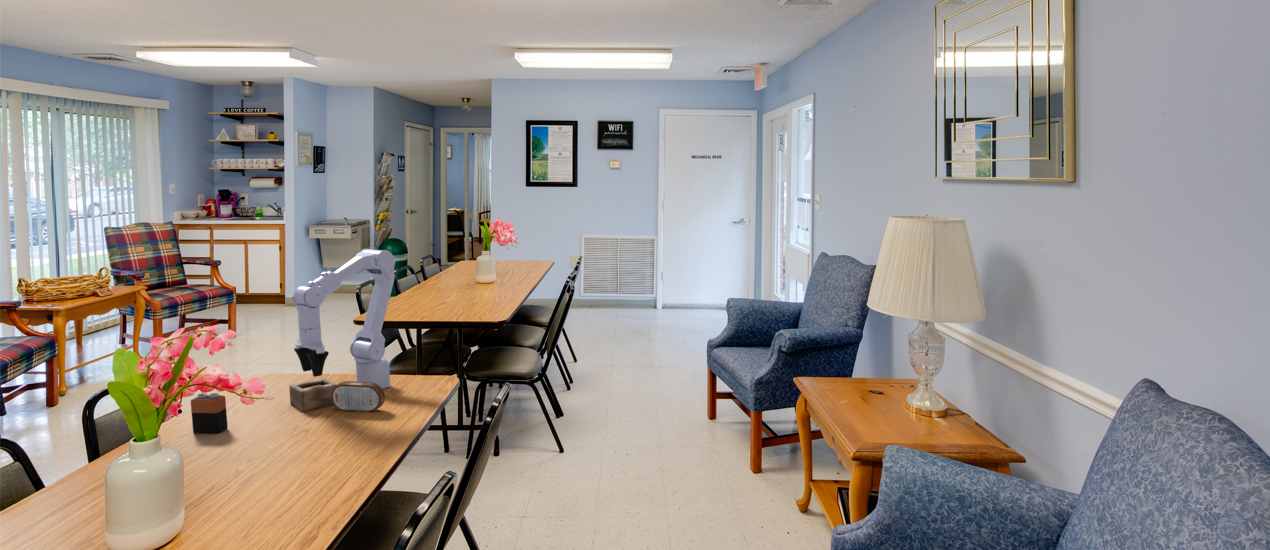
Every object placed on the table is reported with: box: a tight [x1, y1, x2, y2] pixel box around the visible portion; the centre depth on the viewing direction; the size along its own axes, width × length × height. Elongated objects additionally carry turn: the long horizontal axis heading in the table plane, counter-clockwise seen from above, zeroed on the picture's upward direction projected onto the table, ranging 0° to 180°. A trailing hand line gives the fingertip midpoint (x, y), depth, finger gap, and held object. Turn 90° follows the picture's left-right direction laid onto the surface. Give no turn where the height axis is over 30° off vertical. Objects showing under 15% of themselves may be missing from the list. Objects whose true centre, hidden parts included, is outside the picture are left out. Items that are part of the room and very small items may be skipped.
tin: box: [331, 380, 386, 412], centre depth 195 cm, size 15×3×8 cm, turn 84°
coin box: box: [288, 377, 338, 413], centre depth 200 cm, size 10×9×6 cm
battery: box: [190, 392, 228, 435], centre depth 178 cm, size 4×7×10 cm, turn 88°
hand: (312, 373), depth 199 cm, fingers open, 7 cm apart
